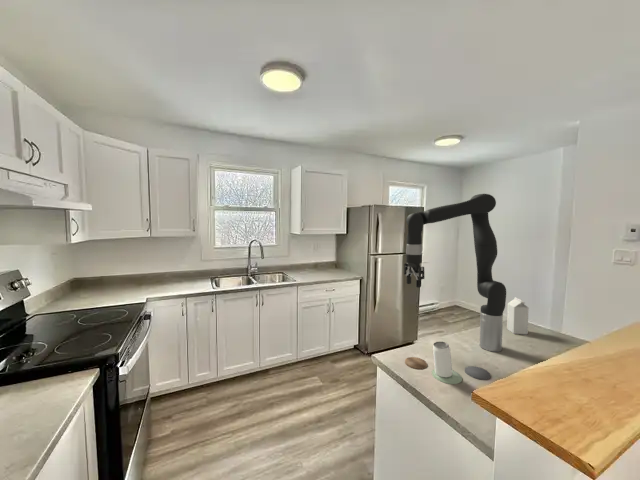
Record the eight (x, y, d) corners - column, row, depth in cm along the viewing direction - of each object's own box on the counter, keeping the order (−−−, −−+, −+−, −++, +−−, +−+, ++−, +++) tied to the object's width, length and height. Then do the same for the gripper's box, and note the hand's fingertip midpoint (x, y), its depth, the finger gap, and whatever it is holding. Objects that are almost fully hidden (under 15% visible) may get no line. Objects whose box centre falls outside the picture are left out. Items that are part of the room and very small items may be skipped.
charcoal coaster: (472, 366, 116) (472, 363, 116) (494, 375, 109) (494, 373, 109) (460, 372, 111) (460, 370, 111) (483, 383, 104) (483, 380, 104)
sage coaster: (443, 367, 116) (443, 365, 116) (468, 380, 106) (468, 378, 106) (425, 374, 111) (425, 371, 111) (449, 388, 101) (449, 385, 101)
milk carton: (513, 334, 149) (514, 300, 148) (506, 329, 156) (507, 296, 155) (527, 334, 148) (528, 300, 147) (520, 329, 155) (521, 297, 154)
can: (447, 380, 104) (445, 350, 103) (432, 374, 109) (429, 345, 108) (455, 372, 108) (453, 343, 107) (439, 367, 113) (437, 339, 112)
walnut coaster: (414, 357, 124) (414, 355, 124) (431, 366, 117) (431, 363, 117) (400, 362, 119) (400, 360, 119) (417, 372, 112) (417, 369, 112)
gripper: (429, 254, 128) (429, 288, 129) (412, 251, 142) (412, 282, 143) (415, 255, 127) (415, 289, 128) (399, 252, 141) (399, 283, 141)
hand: (413, 285), depth 135 cm, fingers open, 8 cm apart
